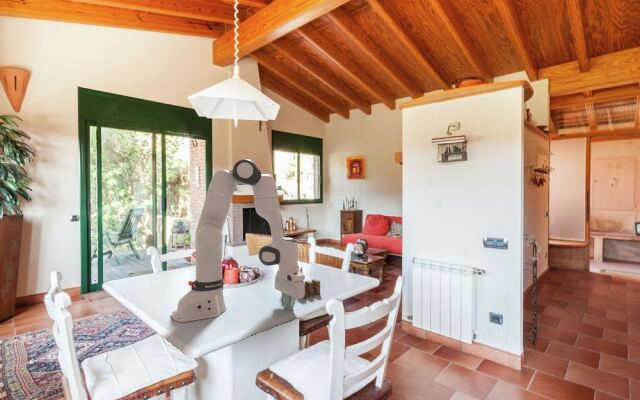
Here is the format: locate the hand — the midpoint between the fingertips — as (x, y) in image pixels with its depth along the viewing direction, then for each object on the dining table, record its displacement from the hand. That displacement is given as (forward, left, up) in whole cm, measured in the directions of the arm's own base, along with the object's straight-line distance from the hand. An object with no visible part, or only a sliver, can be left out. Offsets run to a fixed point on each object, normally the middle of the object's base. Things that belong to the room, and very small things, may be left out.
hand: (288, 303), depth 148 cm
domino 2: (+14, +9, -2) cm, 17 cm away
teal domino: (0, 0, -2) cm, 2 cm away
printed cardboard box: (+19, +26, -3) cm, 32 cm away
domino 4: (+23, +9, -2) cm, 25 cm away
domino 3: (+18, +9, -2) cm, 20 cm away
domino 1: (+5, +9, -2) cm, 11 cm away
